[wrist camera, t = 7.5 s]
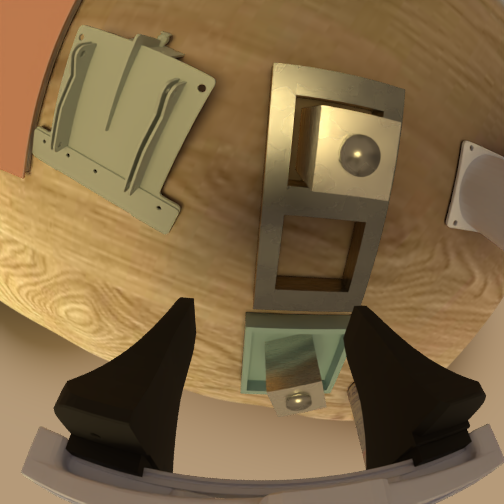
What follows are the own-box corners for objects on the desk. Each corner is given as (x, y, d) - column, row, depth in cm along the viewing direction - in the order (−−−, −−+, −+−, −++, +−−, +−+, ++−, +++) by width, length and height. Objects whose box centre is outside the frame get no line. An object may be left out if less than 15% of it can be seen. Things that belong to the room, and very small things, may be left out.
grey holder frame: (392, 90, 16) (405, 89, 15) (352, 298, 25) (358, 311, 23) (271, 67, 16) (273, 62, 14) (253, 294, 24) (253, 308, 23)
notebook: (33, -61, 5) (24, -66, 3) (146, -83, 8) (140, -93, 6) (-44, 142, 17) (-55, 146, 15) (34, 173, 20) (21, 179, 18)
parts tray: (351, 315, 25) (357, 328, 24) (327, 379, 30) (330, 393, 28) (245, 312, 25) (245, 327, 23) (241, 379, 30) (240, 393, 28)
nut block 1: (310, 331, 26) (322, 384, 20) (316, 360, 28) (327, 410, 22) (264, 341, 26) (266, 396, 21) (275, 369, 28) (278, 420, 23)
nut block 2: (361, 118, 18) (404, 122, 12) (354, 177, 20) (391, 203, 14) (301, 108, 18) (323, 104, 12) (295, 169, 20) (313, 193, 14)
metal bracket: (49, 10, 9) (249, 89, 12) (100, 8, 13) (264, 78, 17) (19, 174, 18) (154, 258, 21) (58, 146, 22) (179, 216, 26)
